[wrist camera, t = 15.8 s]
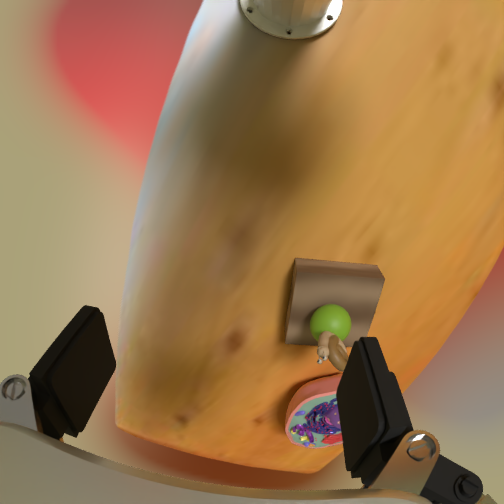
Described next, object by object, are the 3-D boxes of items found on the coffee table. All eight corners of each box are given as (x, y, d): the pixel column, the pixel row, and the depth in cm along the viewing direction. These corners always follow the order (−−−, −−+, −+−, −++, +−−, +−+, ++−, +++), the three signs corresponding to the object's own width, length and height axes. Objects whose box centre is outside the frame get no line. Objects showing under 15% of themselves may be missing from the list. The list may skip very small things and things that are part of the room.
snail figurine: (326, 283, 39) (342, 346, 28) (354, 312, 40) (375, 374, 29) (295, 308, 41) (300, 373, 30) (324, 334, 42) (335, 398, 31)
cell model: (267, 408, 56) (265, 455, 46) (314, 342, 48) (320, 395, 38) (338, 423, 58) (343, 465, 48) (392, 364, 50) (409, 410, 39)
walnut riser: (295, 257, 42) (297, 271, 38) (376, 265, 42) (385, 278, 38) (284, 327, 47) (285, 343, 43) (357, 331, 47) (362, 347, 43)
